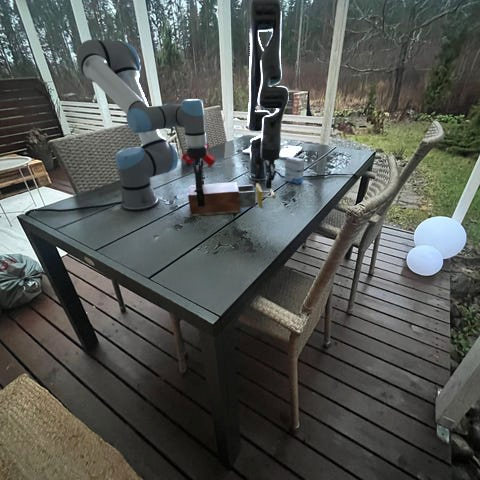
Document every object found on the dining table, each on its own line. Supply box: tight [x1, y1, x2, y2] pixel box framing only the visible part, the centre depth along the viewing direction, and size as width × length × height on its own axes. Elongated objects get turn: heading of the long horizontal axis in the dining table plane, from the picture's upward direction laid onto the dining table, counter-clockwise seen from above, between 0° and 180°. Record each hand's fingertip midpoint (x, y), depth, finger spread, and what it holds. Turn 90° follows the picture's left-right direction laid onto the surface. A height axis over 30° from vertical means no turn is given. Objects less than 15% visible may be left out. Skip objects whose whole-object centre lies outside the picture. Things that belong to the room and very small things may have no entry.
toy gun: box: [181, 141, 216, 167], centre depth 167 cm, size 18×4×15 cm
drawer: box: [238, 182, 277, 209], centre depth 114 cm, size 25×9×7 cm, turn 96°
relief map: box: [242, 141, 304, 160], centre depth 192 cm, size 27×35×5 cm
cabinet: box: [187, 181, 241, 217], centre depth 113 cm, size 20×10×9 cm, turn 96°
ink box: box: [284, 156, 306, 185], centre depth 140 cm, size 8×5×12 cm, turn 47°
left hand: (201, 200), depth 113 cm, fingers closed on cabinet, 10 cm apart
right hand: (268, 188), depth 114 cm, fingers closed
